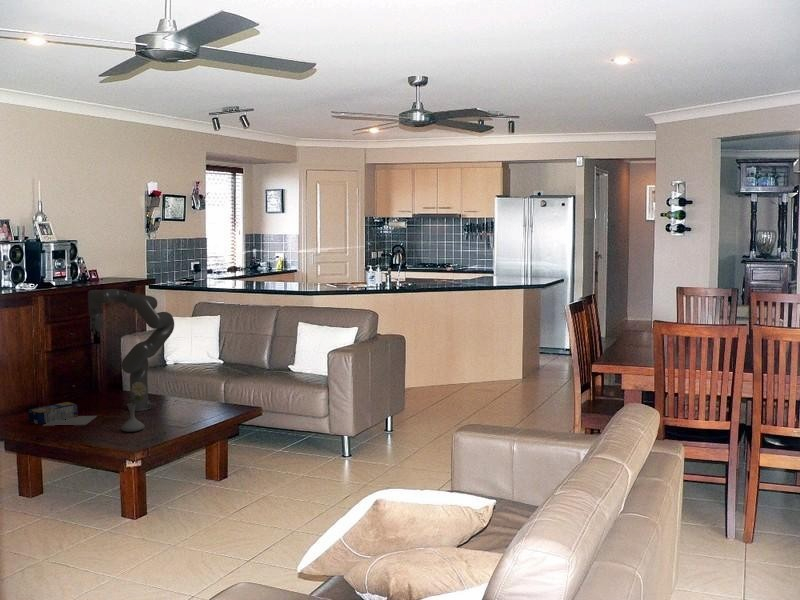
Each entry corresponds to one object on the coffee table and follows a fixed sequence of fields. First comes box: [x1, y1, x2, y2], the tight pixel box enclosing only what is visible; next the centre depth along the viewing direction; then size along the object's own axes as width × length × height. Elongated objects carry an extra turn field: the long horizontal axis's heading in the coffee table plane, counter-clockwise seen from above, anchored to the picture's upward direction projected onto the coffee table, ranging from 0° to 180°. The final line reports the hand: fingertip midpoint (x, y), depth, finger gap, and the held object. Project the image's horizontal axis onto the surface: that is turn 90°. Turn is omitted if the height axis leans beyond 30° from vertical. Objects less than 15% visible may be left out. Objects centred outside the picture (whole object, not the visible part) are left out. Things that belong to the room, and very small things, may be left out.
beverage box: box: [27, 401, 79, 425], centre depth 452 cm, size 7×11×22 cm
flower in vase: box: [120, 382, 146, 433], centre depth 426 cm, size 13×11×25 cm
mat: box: [41, 415, 98, 427], centre depth 449 cm, size 22×20×1 cm
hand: (97, 343), depth 478 cm, fingers closed
